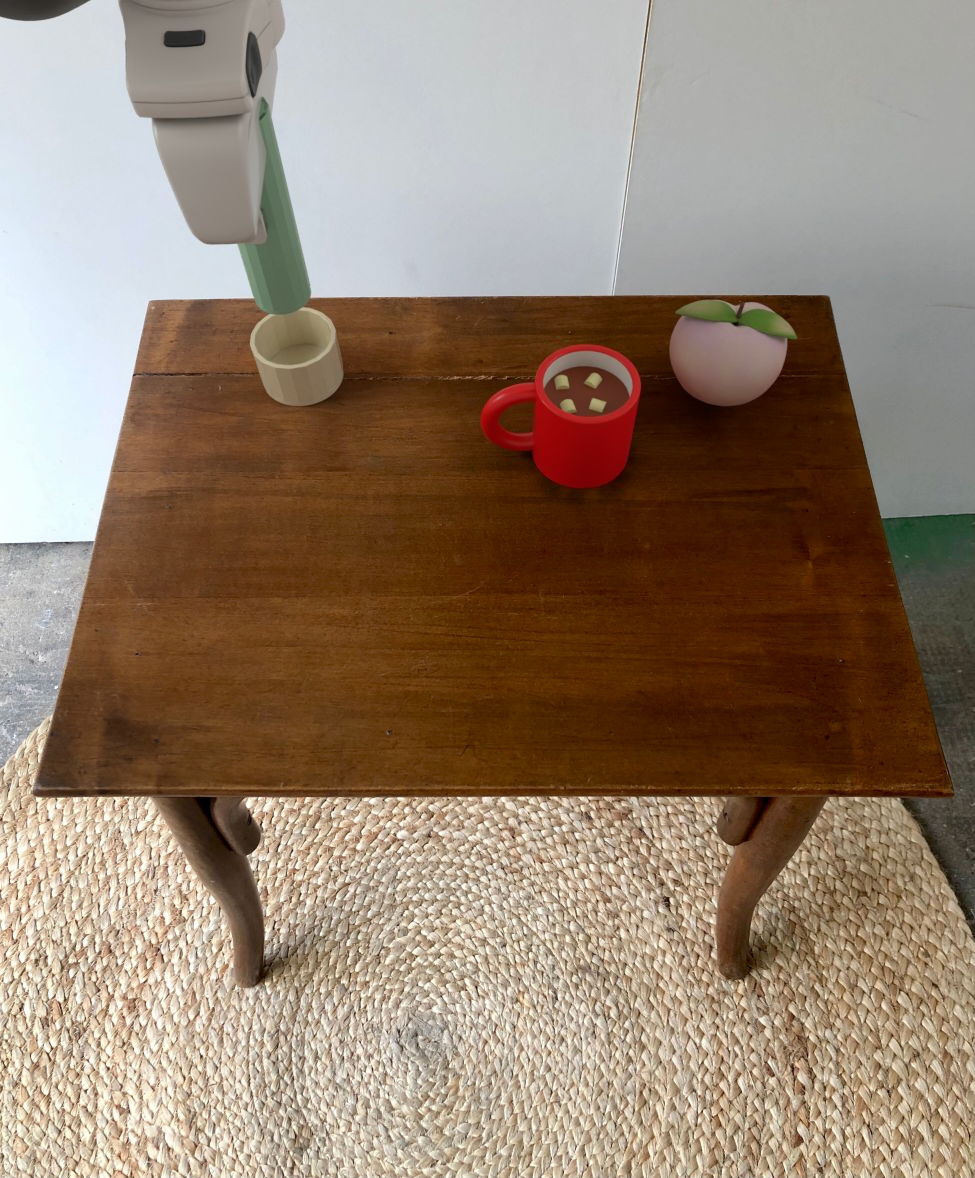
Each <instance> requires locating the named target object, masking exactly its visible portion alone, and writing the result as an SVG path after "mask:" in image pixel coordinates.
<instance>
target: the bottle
mask: <svg viewBox="0 0 975 1178" xmlns="http://www.w3.org/2000/svg"><path fill="white" fill-rule="evenodd" d="M259 126H260V129H261V133H262V137H263V141H264V144H265V148H266V165H265V173H264V181H263V189H262V196H261V204H260V208H263V209H264V212H265V216H266V221H267V224H268V231H267V239H266V242H265V243H264V244H256V245H246V244H244V243H241V244H236V245H237V248H238V251H239V254H240V258H241V261H242V265H243V268H244V271H245V274H246V277H247V280H248V285H249V287H250V290H251V294H252V296H253V299H254V302H255V304H256V306H257V307H258V308H259V309H260V310H261V311H262V312H265V313H267V314H268V315H269V314H274V315H285V314H290V313H293V312H296V311H298V310H299V309H301V308H302V307H305V306H306V305H307V304H308V302H309V301H310V299H311V296H312V287H311V281H310V277H309V273H308V269H307V264H306V260H305V256H304V253H303V247H302V243H301V239H300V235H299V230H298V226H297V222H296V216H295V213H294V209H293V208H294V207H293V204H292V200H291V195H290V191H289V186H288V183H287V178H286V174H285V170H284V165H283V161H282V157H281V152H280V149H279V145H278V144H279V143H278V140H277V135H276V131H275V127H274V123H273V118H272V117H271V113H270V109H269V105H268V103H267V101H266V100H265V98H264V97H262V101H261V108H260V115H259Z"/></svg>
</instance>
